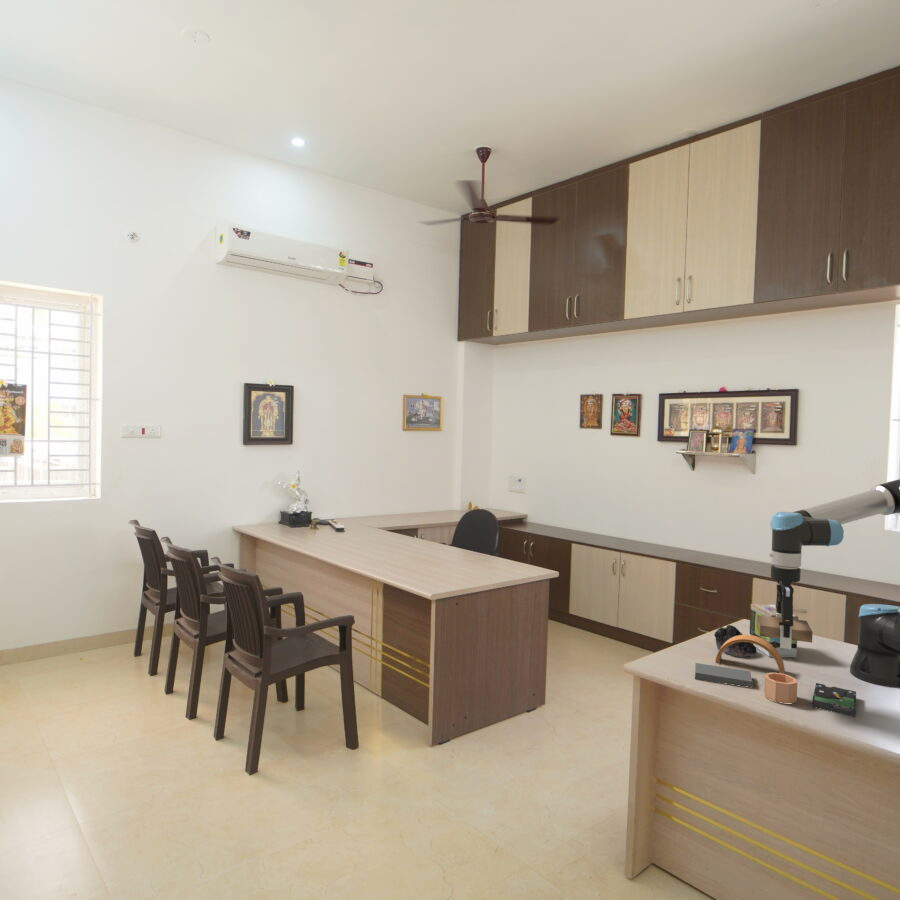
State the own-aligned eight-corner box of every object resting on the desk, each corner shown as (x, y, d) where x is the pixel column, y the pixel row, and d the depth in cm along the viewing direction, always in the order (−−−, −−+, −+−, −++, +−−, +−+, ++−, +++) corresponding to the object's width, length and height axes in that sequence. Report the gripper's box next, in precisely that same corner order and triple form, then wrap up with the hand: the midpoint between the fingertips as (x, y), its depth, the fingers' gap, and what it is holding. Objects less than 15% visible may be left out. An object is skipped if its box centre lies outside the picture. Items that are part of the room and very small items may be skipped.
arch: (782, 677, 198) (784, 646, 197) (715, 663, 208) (716, 633, 208) (784, 671, 202) (785, 641, 202) (718, 658, 213) (719, 629, 213)
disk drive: (814, 691, 188) (811, 708, 176) (815, 682, 188) (812, 698, 176) (855, 700, 183) (855, 718, 170) (856, 691, 183) (856, 708, 170)
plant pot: (793, 695, 184) (794, 675, 183) (797, 706, 176) (798, 685, 176) (763, 690, 187) (764, 670, 186) (765, 701, 179) (766, 680, 179)
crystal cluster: (756, 651, 223) (755, 622, 224) (757, 659, 211) (755, 629, 212) (716, 647, 229) (715, 619, 230) (714, 655, 217) (713, 626, 218)
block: (750, 677, 197) (750, 671, 196) (752, 688, 188) (752, 681, 188) (695, 669, 202) (695, 662, 202) (694, 679, 194) (695, 672, 194)
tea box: (797, 658, 215) (799, 615, 214) (768, 657, 215) (770, 614, 214) (775, 643, 230) (777, 603, 229) (747, 642, 230) (749, 602, 229)
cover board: (806, 630, 183) (806, 620, 183) (812, 642, 173) (812, 631, 173) (756, 624, 188) (757, 615, 188) (759, 636, 178) (760, 625, 178)
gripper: (767, 557, 192) (764, 628, 193) (775, 573, 171) (772, 652, 171) (795, 559, 190) (792, 631, 190) (806, 576, 168) (803, 657, 169)
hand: (783, 641), depth 181 cm, fingers closed on cover board, 11 cm apart
